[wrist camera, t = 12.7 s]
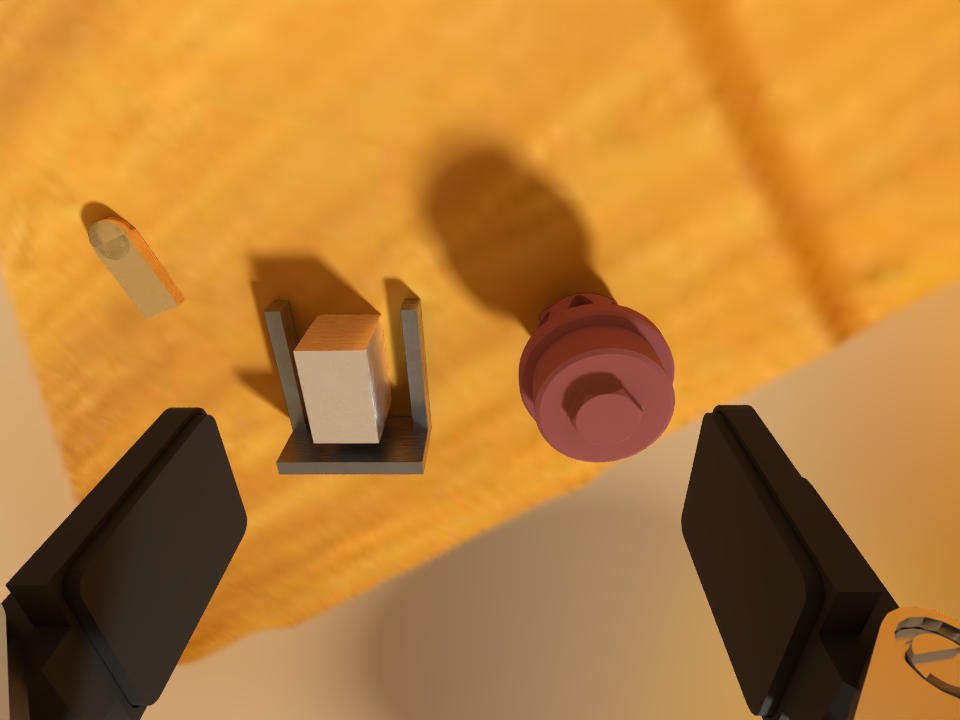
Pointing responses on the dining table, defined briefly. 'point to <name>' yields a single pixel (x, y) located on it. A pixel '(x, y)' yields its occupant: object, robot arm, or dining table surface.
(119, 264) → the brass key tag
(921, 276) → the dining table surface
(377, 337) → the aluminium block
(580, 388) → the mechanical component
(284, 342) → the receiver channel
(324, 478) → the dining table surface
